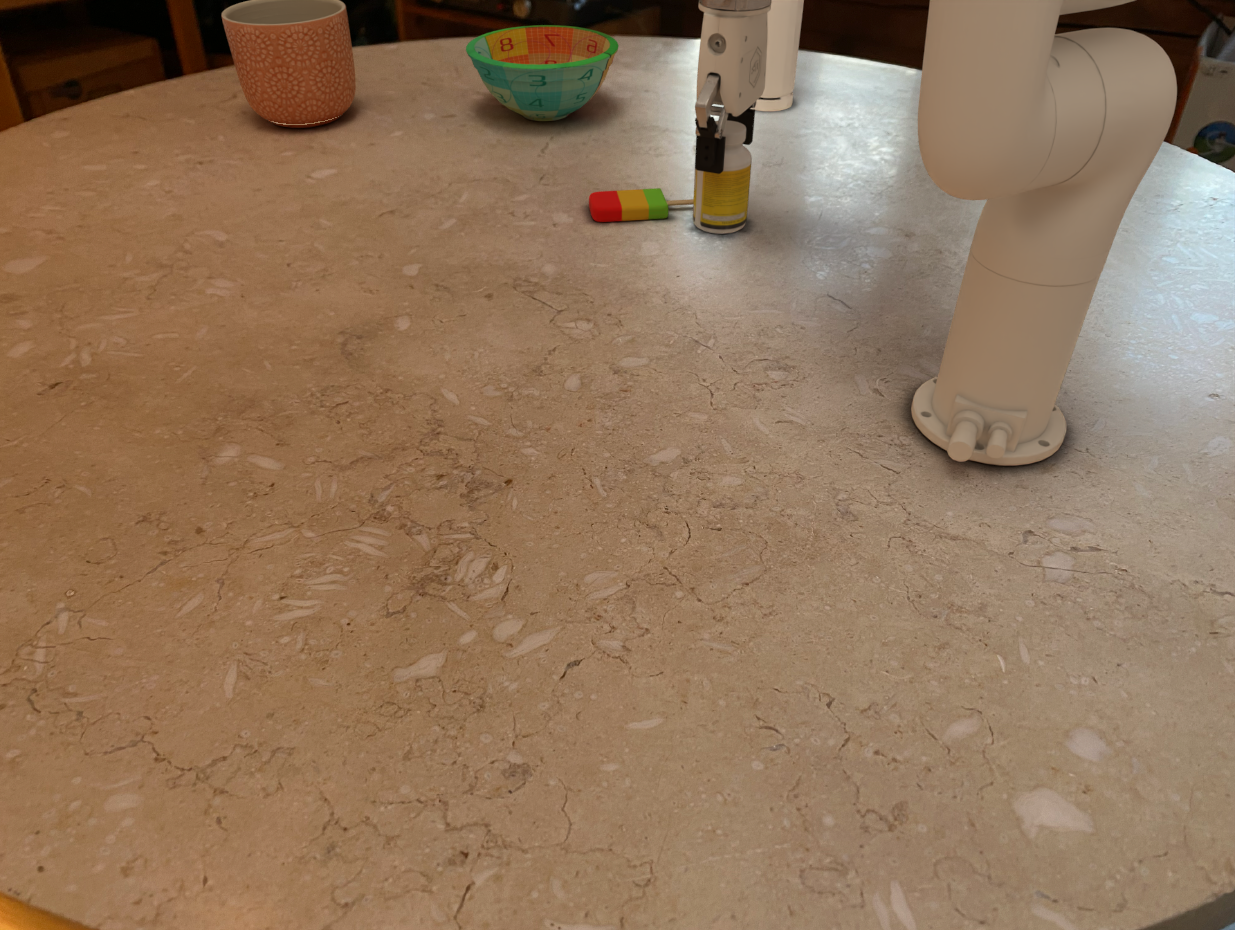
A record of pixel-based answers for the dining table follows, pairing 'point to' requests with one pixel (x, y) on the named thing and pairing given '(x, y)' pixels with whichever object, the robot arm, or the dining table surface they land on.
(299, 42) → the planter
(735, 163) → the pill bottle
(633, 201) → the popsicle
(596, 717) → the dining table surface
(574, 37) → the bowl
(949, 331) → the robot arm
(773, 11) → the bottle
